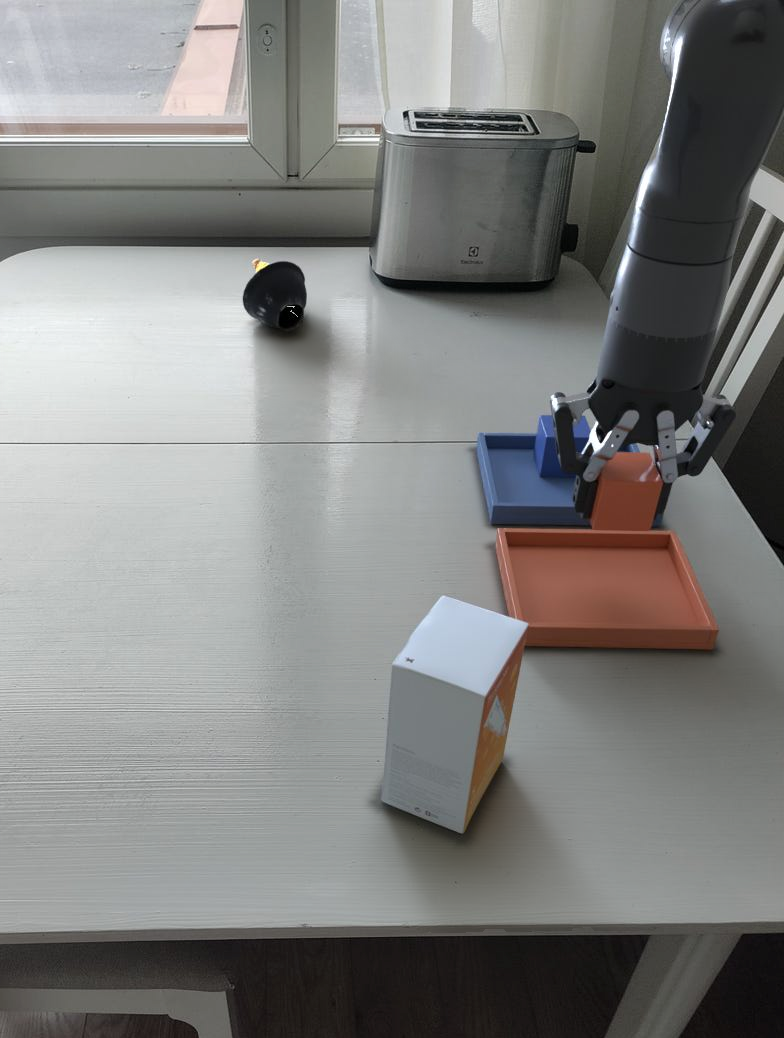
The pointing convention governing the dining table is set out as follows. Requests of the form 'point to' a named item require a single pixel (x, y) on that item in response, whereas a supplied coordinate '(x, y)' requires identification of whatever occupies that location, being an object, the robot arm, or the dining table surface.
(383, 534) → the dining table surface
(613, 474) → the clay block
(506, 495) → the blue tray
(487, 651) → the small box
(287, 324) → the fried shrimp in bowl
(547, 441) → the blue block
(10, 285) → the dining table surface
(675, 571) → the clay tray
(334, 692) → the dining table surface
